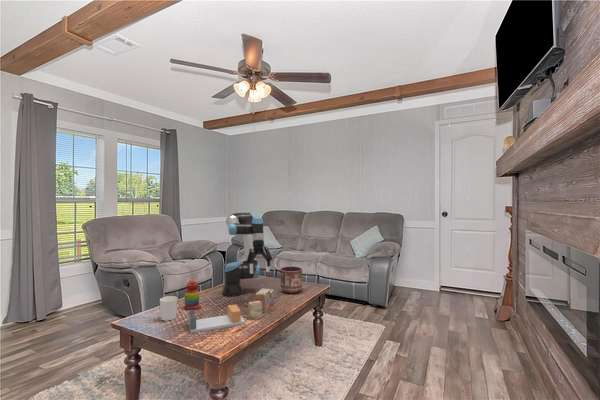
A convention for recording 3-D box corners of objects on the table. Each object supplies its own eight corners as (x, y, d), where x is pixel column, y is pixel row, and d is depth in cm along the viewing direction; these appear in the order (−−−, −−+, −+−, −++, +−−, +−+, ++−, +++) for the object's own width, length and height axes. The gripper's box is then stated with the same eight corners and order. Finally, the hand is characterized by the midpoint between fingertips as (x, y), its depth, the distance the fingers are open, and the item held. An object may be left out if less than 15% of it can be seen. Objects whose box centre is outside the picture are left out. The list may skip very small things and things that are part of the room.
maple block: (248, 317, 185) (248, 302, 185) (259, 315, 188) (259, 300, 188) (250, 319, 181) (250, 304, 181) (261, 318, 184) (262, 303, 184)
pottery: (275, 292, 234) (275, 269, 234) (287, 287, 249) (288, 265, 249) (294, 296, 225) (294, 272, 225) (306, 290, 240) (306, 268, 240)
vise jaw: (227, 315, 183) (227, 305, 183) (235, 314, 185) (235, 304, 185) (232, 322, 172) (232, 312, 172) (240, 321, 174) (240, 310, 174)
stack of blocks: (265, 302, 213) (265, 284, 213) (274, 302, 212) (274, 285, 212) (255, 313, 192) (255, 293, 192) (264, 313, 191) (264, 294, 191)
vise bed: (188, 323, 174) (188, 310, 175) (239, 315, 187) (239, 303, 187) (190, 333, 162) (190, 319, 162) (245, 323, 175) (245, 310, 175)
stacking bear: (202, 308, 199) (202, 281, 199) (185, 311, 194) (186, 283, 194) (198, 303, 208) (198, 277, 208) (182, 306, 203) (183, 279, 203)
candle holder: (163, 315, 186) (163, 296, 186) (179, 315, 187) (179, 295, 187) (156, 322, 177) (157, 301, 177) (174, 321, 177) (174, 301, 178)
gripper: (240, 242, 206) (241, 274, 200) (269, 237, 194) (271, 271, 188) (247, 243, 212) (248, 274, 207) (276, 238, 200) (278, 270, 195)
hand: (259, 272), depth 198 cm, fingers open, 13 cm apart
